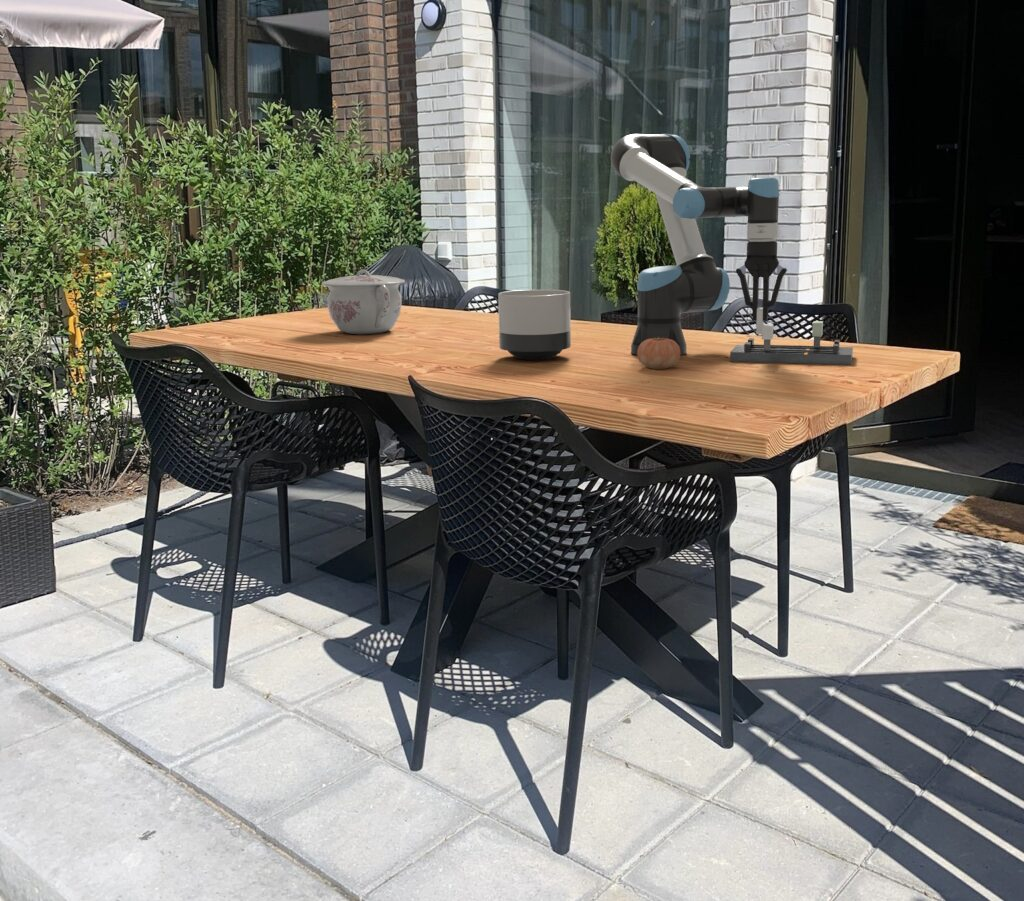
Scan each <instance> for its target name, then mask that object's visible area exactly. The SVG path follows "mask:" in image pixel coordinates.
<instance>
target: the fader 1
mask: <svg viewBox="0 0 1024 901" xmlns="http://www.w3.org/2000/svg"><path fill="white" fill-rule="evenodd" d="M772 339H774V324H773V323H764V324H763V326H762V334H761V340H763V345H764V350H767V351H770V349H771V345H772V341H771V340H772Z"/></svg>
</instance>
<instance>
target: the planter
mask: <svg viewBox="0 0 1024 901" xmlns="http://www.w3.org/2000/svg"><path fill="white" fill-rule="evenodd" d="M497 299H498V333H499V334H498V336H499V337H498V338H499V339H498V340H499V341H498V342H499V344H498V345H499V349H501V350H502V351H507V352H508V353H509V354H510V355H512V356H513V357H515V358H517V359H520V360H524V361H545V360H549V359H551V358H554V357H556V356H557V355H559V354H560V353H561V352H562V351H563V350H567V349H570V348H571V346H572V344H571V338H572V337H571V331H572V330H571V292H570V291H569V290H563V289H516V290H514V289H513V290H506V291H501V292H498V298H497Z"/></svg>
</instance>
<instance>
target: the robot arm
mask: <svg viewBox="0 0 1024 901" xmlns="http://www.w3.org/2000/svg"><path fill="white" fill-rule="evenodd" d="M610 153H611V154H610V163H611V166H612V168H613V170H614V173H615V172H616V174H617V175H618V176H620V177H621V178H623V179H624V180H626V181H628V182H636V183H638V184H639V185H641V186H642V187H644V188H646V189H647V190H648V191H650V192H652V193H654V194H655V198H656V200H657V203H658V207H659V211H660V213H661V216H662V219H663V223H664V224H663V225H664V227H665V231H666V234H667V237H668V240H669V243H670V247H671V250H672V253H673V257H674V260H675V265H661V266H653V267H650V268H646V269H643V270H642V271H640V273H639V274H638V278H637V285H636V288H637V327H636V330H635V332H634V334H633V338H632V342H631V346H630V353H631V354H633V355H636V356H637V351H638V348H639V346H640V344H641V343H642V342H643V341H645V340H647V339H651V338H654V337H655V338H658V337H659V338H663V337H664V338H668V339H671V340H674V341H675V342H676V343H677V344H678V346H679V348H680V356H681V355H685V354H687V342H686V340H685V335H684V332H683V330H682V325H681V314H684V313H686V314H687V313H698V312H700V313H701V312H704V313H705V312H706V313H707V312H709V311H714V310H718V309H720V308H722V307H723V306H724V304H725V303H726V301H727V300H728V297H729V293H730V285H731V284H730V278H729V275H728V273H727V271H726V270H725V269H723V268H721V267H717V266H716V262H715V260H714V257H713V256H711V255H709V254H707V252H706V250H705V246H704V242H703V240H702V236H701V232H700V229H699V227H698V223H697V219H704V218H705V219H706V218H707V219H709V218H737V217H738V218H739V217H740V218H741V217H742V218H743V217H747V220H746V221H747V223H746V224H747V225H746V226H747V230H746V238H747V240H749V241H747V243H746V257H745V258H746V259H745V261H744V264H743V265H741V266H740V267H738V268H736V269H735V273H736V274H737V276H738V277H739V280H740V285H741V290H742V295H743V299H744V303H745V306H747V307H751V308H752V313H751V314H752V321H753V322H754V321H755V322H756V329H755V330H756V331H755V334H756V335H762V326H763V324H765V322H766V321H768V319H769V308H771V307H773V306H775V305H776V303H777V300H778V296H779V294H780V293H779V292H780V288H781V286H782V282H783V278H784V276H785V275H786V273H787V271H788V267H787V268H786V267H784V266H782V265H781V264H780V261H779V259H778V242H777V239H778V236H779V235H778V231H779V230H778V229H779V205H780V204H779V203H780V198H779V197H780V190H779V189H780V188H779V186H780V183H779V179H778V178H776V177H753V178H750V179H749V180H748V184H747V186H728V187H727V186H725V187H724V186H723V187H719V186H718V187H703V186H701V185H699V184H696V183H695V182H693V181H692V180H690V179H689V178H687V174H688V172H687V171H688V170H689V167H690V162H691V161H690V158H691V154H690V153H691V152H690V149H689V145H688V144H687V142H686V141H685V139H683V137H681V136H680V135H677V134H670V133H661V134H659V133H658V134H657V133H656V134H654V133H653V134H651V133H649V134H647V133H646V134H645V133H632V134H627V135H624V136H623V137H621V138H620V139H618V141H616V142H615V144H614V145H613V147H612V150H611V152H610ZM747 271H748V273H749V274H750V275H751V277H752V299H751V294H750V291H749V286H748V281H747V276H746V273H747ZM775 271H776V274H777V277H776V280H775V283H774V287H773V291H772V294H771V298H770V276H772V274H773V273H774V272H775ZM760 278H762V280H763V282H762V284H763V285H762V307H759V294H760V293H759V291H760ZM769 298H770V300H769Z"/></svg>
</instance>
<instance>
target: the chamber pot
mask: <svg viewBox="0 0 1024 901" xmlns="http://www.w3.org/2000/svg"><path fill="white" fill-rule="evenodd" d="M363 273H364V274H363ZM405 282H406V280H405V279H403V278H400V277H396V276H395V277H394V276H390V275H389V276H388V275H381V274H380V275H379V274H370V272H369V271H368V270H367V269H364V268H361V269H360V270H358V271H357V272H356V274H354V275H348V276H340V277H336V278H332V279H327V280H325V281H323V282H322V283H321V285H322V286H324V287H327V288H328V290H329V293H328V295H327V297H326V306H327V308H328V309H327V310H328V312H329V313H328V314H329V317H330V319H331V320H332V322H333V323H334V325H335V327H336V328H337V329H338V330H339V331H341V332H343V333H346V334H348V335H358V336H359V335H377V334H383V333H386V332H388V331H391V330H392V329H393V328H394V326H395V325H396V323H397V321H398V319H399V317H400V314H401V311H402V309H401V308H402V302H403V301H402V300H403V298H402V294H401V291H399V286H400V284H404V283H405Z"/></svg>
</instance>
